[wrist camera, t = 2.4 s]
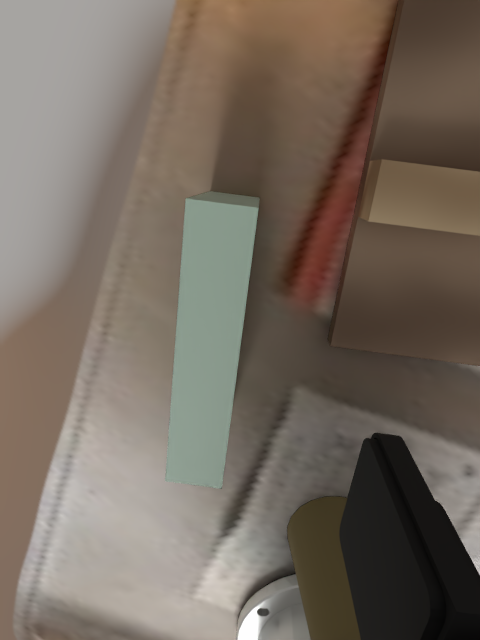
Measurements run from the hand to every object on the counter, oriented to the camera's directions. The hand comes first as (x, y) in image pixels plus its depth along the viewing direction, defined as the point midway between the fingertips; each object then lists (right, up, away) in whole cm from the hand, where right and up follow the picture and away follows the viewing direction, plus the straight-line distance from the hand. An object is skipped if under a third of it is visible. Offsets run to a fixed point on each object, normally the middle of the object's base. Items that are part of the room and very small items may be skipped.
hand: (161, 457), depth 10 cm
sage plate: (+1, +4, +13) cm, 14 cm away
